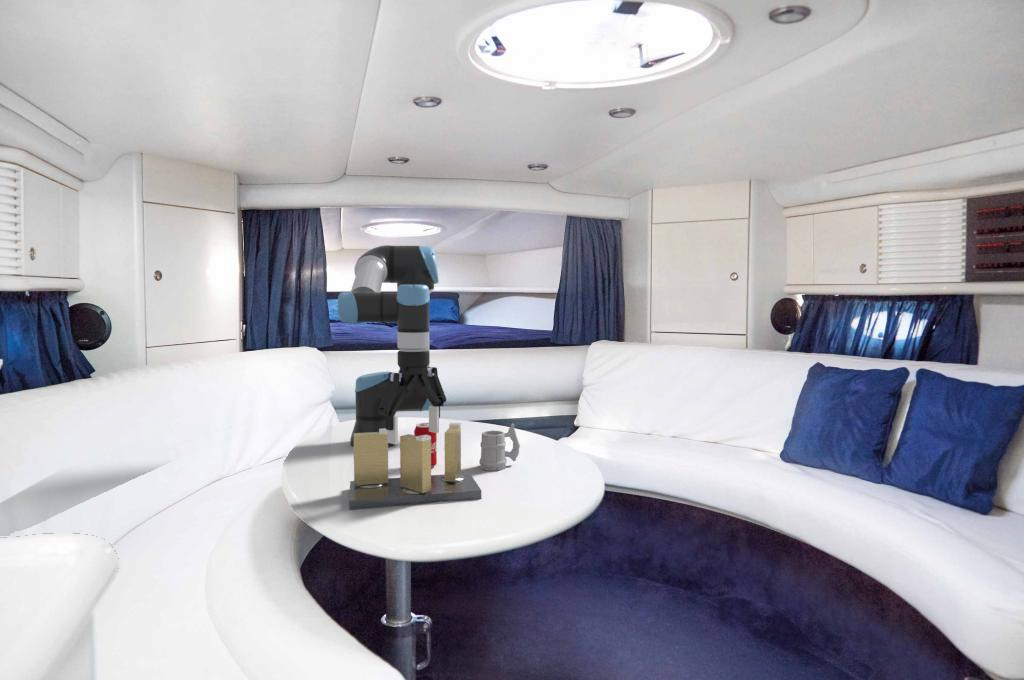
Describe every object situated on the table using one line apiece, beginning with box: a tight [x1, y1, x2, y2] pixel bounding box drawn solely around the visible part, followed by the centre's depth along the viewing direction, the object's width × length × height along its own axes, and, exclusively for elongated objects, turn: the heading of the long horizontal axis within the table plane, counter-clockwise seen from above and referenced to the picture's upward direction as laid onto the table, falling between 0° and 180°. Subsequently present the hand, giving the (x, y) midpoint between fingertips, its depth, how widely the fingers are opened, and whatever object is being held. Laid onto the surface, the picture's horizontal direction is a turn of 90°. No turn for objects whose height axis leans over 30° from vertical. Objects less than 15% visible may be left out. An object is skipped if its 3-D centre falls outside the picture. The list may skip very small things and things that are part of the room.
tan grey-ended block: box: [399, 434, 432, 493], centre depth 136 cm, size 8×3×13 cm, turn 49°
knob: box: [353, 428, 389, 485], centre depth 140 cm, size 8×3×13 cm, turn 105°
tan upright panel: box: [444, 422, 462, 481], centre depth 145 cm, size 8×3×13 cm, turn 175°
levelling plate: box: [348, 472, 482, 511], centre depth 140 cm, size 15×30×2 cm, turn 105°
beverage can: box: [413, 422, 438, 469], centre depth 163 cm, size 6×6×12 cm
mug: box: [479, 423, 521, 472], centre depth 163 cm, size 8×12×12 cm, turn 112°
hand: (414, 437), depth 139 cm, fingers open, 13 cm apart
